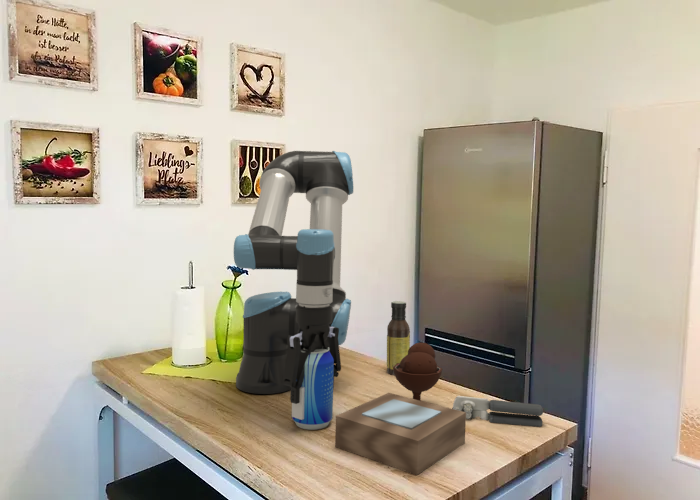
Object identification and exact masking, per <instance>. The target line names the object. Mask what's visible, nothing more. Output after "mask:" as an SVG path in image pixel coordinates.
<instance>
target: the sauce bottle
mask: <svg viewBox="0 0 700 500" xmlns="http://www.w3.org/2000/svg"><path fill="white" fill-rule="evenodd" d="M390 308H391V320H390V321H389V322H388V324H387V326H386V328H387V331H386V332H387V335H386V368H387V369H386V373H387V374H388V375H391V376H394V377H395V375H394V371H393V367H394V366H395V365H396V364H397V363H400V362H401V360H402V359H403V358H404V357H405V356H406V355H408V350H409V348H410V347H411V344H410V343H411V331H410V330H411V329H410V325H409V323H408V322H407V320H406V318H407V316H406V314H407V313H406V309H407V302H406V301H401V300H399V301H397V300H395V301H391V303H390Z"/></svg>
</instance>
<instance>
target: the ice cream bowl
mask: <svg viewBox="0 0 700 500" xmlns="http://www.w3.org/2000/svg"><path fill="white" fill-rule="evenodd" d="M435 358H436V352H435V349H434V348H433V347H432V346H431V345H430V344H428V343H426V342H417V343H414V344H412V345H410V348H409V350H408V355H406V356H405V357H404V358H403V359H402V360H401V362H400V363H397V364H396V365H395V366H394V367H393V371H394V375H395V376H394V375H393V376H394V377H395V379H396V380H397V382H399V384H400V385H402V386H403V388H405V389H406V390H408V391H410V392H411V393H412V399H416V400H419V401H422V400H421V398H422V397H421V396H422V393H424V392H427V391H429V390H431V389H432V388H433V387H434V386H435V385H436V384H437V383H438V381H439V380H440V379H441V376H442V371H443V368H442V367H440V366H439V365H438V363H437V361H436V359H435Z"/></svg>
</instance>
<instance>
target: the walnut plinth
mask: <svg viewBox="0 0 700 500" xmlns="http://www.w3.org/2000/svg"><path fill="white" fill-rule="evenodd" d="M466 422H467V419H466V412H462V411H458V410H455V409H452V407H446V406H443V405H438V404H434V403H430V402H426V401H423V400H421V401H419V400H416V399H413V397H411V398H410V397H407V396H403V395H400V394H395V393H391V392H387V393H385V394H383V395H381V396H378V397H376V398H374V399H371V400H369V401H366V402H365V403H362V404H360V405H358V406H355V407H353V408H351V409H348V410H346V411H344V412H341V413H339V414H337V415H335V430H334V433H335V434H334V435H335V438H334V439H335V440H334V441H335V442H334V446H335V448H338V449H341V450H344V451H346V452H349V453H353V454H355V455H358V456H361V457H364V458H366V459H369V460H372V461H375V462H378V463H381V464H384V465H387V466H389V467H392V468H396V469H397V470H401V471H404V472H407V473H410V474H413V475H416V476H418V475H420V474H421V473H422V472H423V471H425V470H427V469H428V468H430V467H431V466H433V465H435V464H436V463H437V462H439V461H440V460H441V459H443V458H444V457H446V456H447V455H449V454H450V453H452V452H454V451H455V450H456V449H458V448H459V447H461V446H462V445H464V444H465V443H466Z"/></svg>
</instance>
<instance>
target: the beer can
mask: <svg viewBox="0 0 700 500" xmlns="http://www.w3.org/2000/svg"><path fill="white" fill-rule="evenodd" d="M303 349H304V350H306V349H305V348H303ZM329 350H330V349H329V347H328V349H323V348H321V349H318V348H317V349H316V350H314V352H311V354H310V355H308V357H307V359H306V362H305V376H304V379H303V383H302V386H301V387H305V392H304V419H302V420H301V419H297V418H294V417H292V416H291V418H292V421H293V422H295V425H296V426H297V427H298V428H300V429H304V430H309V431H313V430H321V429H324V428H326V427H328V426H329V425H330V422H331V421H332V420H333V417H334V416H333V415H334V414H333V413H334V411H333V410H334V409H333V406H334V389H333V370H334V365H335V364H334V359H333V357H332V355H331V353H330V352H329ZM301 352H305V351H301ZM296 381H297V379H296Z"/></svg>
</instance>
